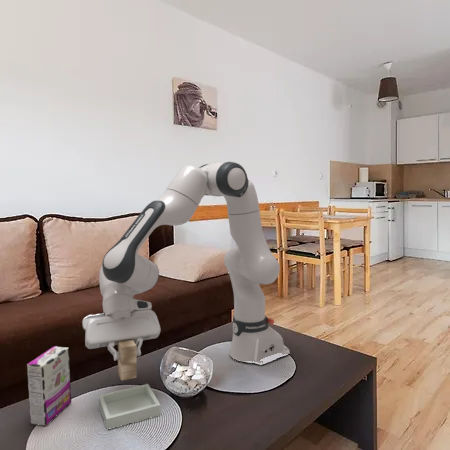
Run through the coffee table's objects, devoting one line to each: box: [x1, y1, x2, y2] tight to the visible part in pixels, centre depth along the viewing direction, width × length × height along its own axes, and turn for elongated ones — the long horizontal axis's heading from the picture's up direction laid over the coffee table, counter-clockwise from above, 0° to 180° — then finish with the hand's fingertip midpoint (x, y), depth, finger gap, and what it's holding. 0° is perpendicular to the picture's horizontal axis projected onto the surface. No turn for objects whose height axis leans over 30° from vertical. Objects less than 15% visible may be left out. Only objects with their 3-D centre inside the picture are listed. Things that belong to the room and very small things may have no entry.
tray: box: [98, 383, 162, 430], centre depth 104 cm, size 14×12×3 cm
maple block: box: [117, 340, 138, 381], centre depth 103 cm, size 4×4×9 cm
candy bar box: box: [26, 345, 72, 426], centre depth 102 cm, size 11×5×16 cm, turn 168°
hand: (127, 357), depth 102 cm, fingers closed on maple block, 4 cm apart
